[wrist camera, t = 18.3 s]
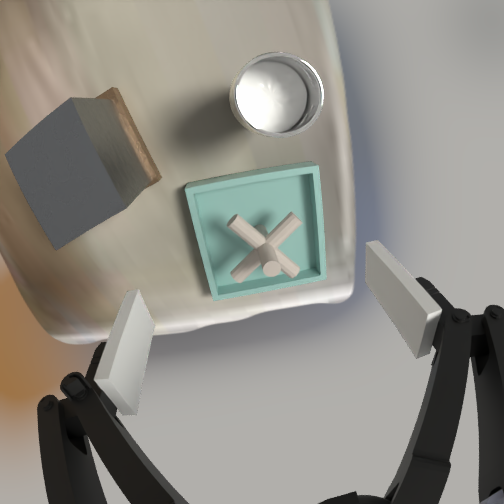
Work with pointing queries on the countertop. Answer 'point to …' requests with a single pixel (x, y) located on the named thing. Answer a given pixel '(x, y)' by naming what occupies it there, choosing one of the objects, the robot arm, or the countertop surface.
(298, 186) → the tray
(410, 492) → the robot arm
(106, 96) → the mounted unit
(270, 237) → the pipe connector
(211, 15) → the countertop surface
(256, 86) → the beer glass
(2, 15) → the countertop surface
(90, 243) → the countertop surface
